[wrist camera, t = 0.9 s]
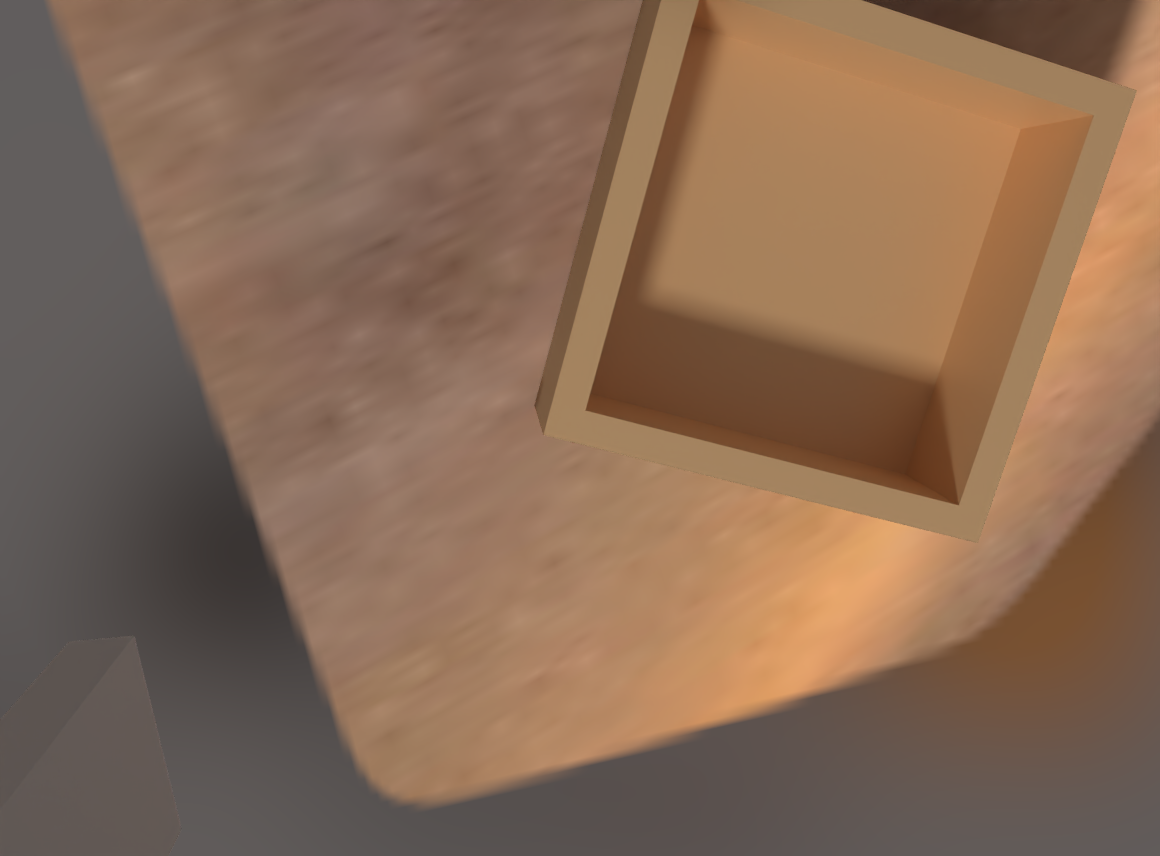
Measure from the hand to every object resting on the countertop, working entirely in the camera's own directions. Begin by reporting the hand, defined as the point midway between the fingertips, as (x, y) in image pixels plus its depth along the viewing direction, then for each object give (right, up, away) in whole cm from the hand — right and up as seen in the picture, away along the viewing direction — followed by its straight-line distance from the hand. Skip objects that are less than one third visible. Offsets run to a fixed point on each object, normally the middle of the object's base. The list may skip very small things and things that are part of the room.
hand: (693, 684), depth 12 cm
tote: (+6, +9, +22) cm, 24 cm away
